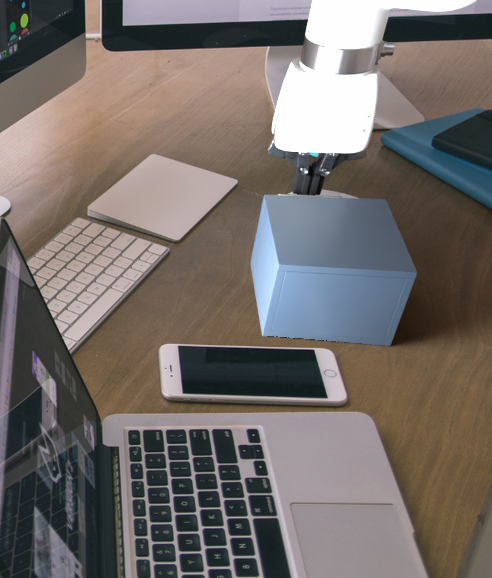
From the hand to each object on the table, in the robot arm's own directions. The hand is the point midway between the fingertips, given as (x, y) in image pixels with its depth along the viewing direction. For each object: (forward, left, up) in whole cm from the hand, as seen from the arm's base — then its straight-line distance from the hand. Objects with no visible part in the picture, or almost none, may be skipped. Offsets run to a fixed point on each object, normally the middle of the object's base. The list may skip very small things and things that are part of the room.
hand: (304, 198), depth 95 cm
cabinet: (0, +15, -5) cm, 15 cm away
